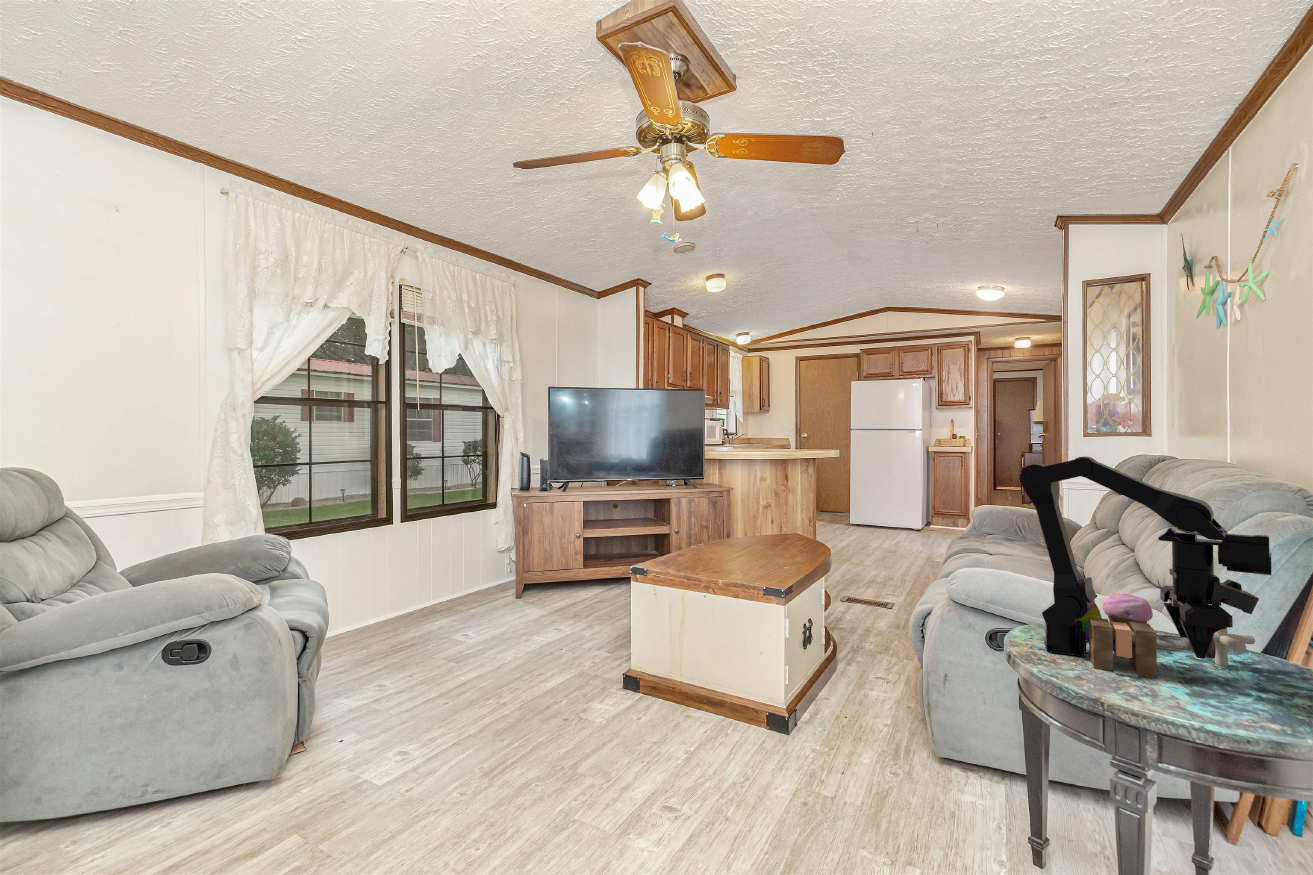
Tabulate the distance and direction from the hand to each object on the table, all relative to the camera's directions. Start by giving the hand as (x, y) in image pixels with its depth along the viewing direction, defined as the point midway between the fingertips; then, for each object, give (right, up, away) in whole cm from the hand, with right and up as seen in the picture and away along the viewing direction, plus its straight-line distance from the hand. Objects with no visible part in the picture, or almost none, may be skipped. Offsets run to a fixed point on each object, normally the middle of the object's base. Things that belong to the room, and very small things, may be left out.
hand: (1194, 651), depth 110 cm
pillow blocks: (-9, -5, +5) cm, 12 cm away
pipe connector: (+11, -5, +6) cm, 14 cm away
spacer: (-9, -2, +5) cm, 11 cm away
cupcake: (+5, -5, +21) cm, 23 cm away
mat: (-9, -5, +5) cm, 12 cm away
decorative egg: (-5, -5, +23) cm, 24 cm away
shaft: (-5, -1, +3) cm, 6 cm away
